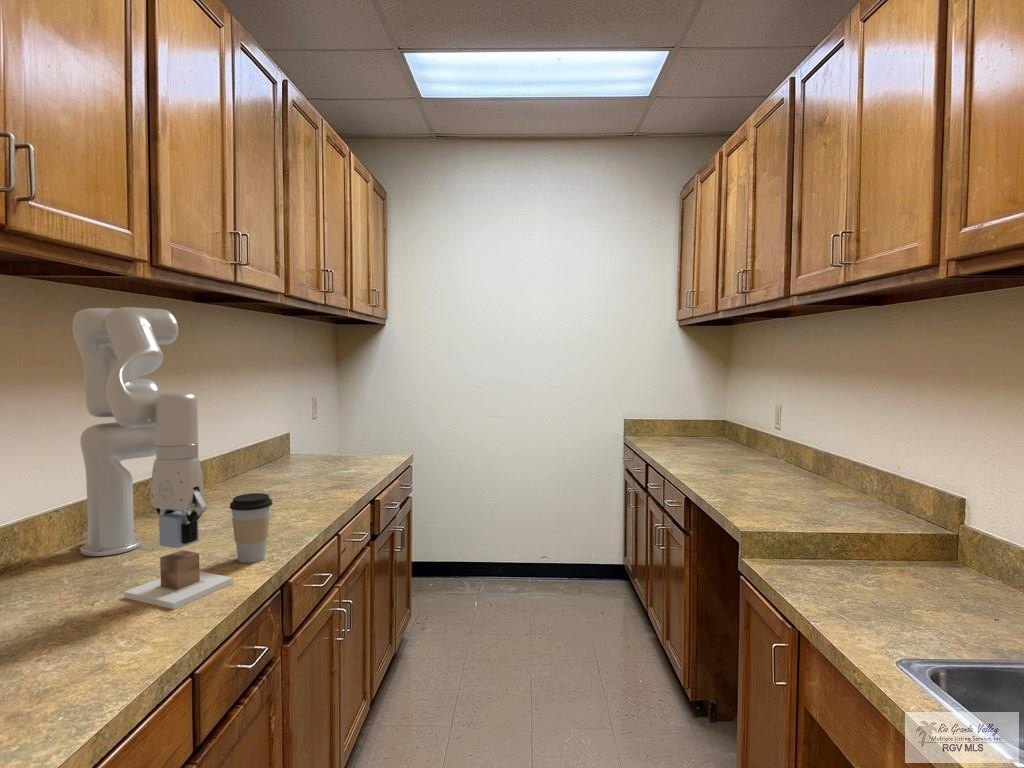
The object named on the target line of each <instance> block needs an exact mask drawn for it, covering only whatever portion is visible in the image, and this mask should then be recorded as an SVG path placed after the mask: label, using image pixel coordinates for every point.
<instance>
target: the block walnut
mask: <svg viewBox="0 0 1024 768" xmlns="http://www.w3.org/2000/svg"><path fill="white" fill-rule="evenodd" d="M159 559H160V561H159V564H160V567H159V568H160V569H159V570H160V578H161V586H162V587H166V588H171V589H175V590H180V589H182V588H185V587H187V586H190V585H192V584H194V583H197V582H199V581H200V571H201V570H200V553H198V552H193V551H189V550H183V549H181V550H179V551H176V552H172V553H169V554H166V555H163V556H160V558H159Z"/></svg>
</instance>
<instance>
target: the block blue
mask: <svg viewBox="0 0 1024 768" xmlns="http://www.w3.org/2000/svg"><path fill="white" fill-rule="evenodd" d="M191 513H192V512H191V511H188V515H190V514H191ZM182 524H184V522H183V517H182V513H181V511H176V512H173V513H169V514H165V515H162V516H159V515H158V529H159V530H158V531H159V535H158V536H159V546H162V547H166V548H167V547H168V548H173V549H179V548H182V547H185V546H188V545H191V544H194V543H197V542H200V540H199V535H200V534H199V531H200V530H199V521H197V540H195V541H192V542H189V543H186V544H183V543H182V529H181V525H182Z"/></svg>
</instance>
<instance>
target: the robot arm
mask: <svg viewBox="0 0 1024 768" xmlns="http://www.w3.org/2000/svg"><path fill="white" fill-rule="evenodd" d="M72 333H73V334H72V335H73V339H74V341H75V344H76V346H77V347H76V348H77V349H78V351H79V354H80V356H81V358H82V362H83V373H84V391H85V404H86V409H87V411H88V413H89V414H90V415H91V416H92V417H96V418H103V419H104V418H114V420H115V422H106V423H97V424H94V425H91V426H89V427H87V428H85V429H84V430H83V431H82V433H81V436H80V447H81V448H80V449H81V453H82V456H83V457H82V458H83V461H84V466H85V467H84V468H85V476H86V477H85V480H86V481H85V482H86V483H85V484H86V504H87V505H86V506H87V510H86V511H87V512H86V513H87V531H84V532H83V533H82V538H86V540H87V541H86V544H84V545H82V546H81V547H80V554H81V555H84V556H87V557H104V556H113V555H114V556H115V555H117V554H118V555H119V554H123V553H126V552H130V551H132V550H135V549H138V548H139V547H140V546H141V545H142V538H140V537H137V536H135V524H134V522H135V519H134V484H133V483H134V482H133V477H132V474H131V472H130V471H129V470H128V469H127V468H126V467H125V466H124V465H122V464H121V461H125V460H133V459H134V460H135V459H140V458H148V457H154V456H155V457H156V459H154V461H153V465H152V471H151V482H150V484H151V485H150V504H151V505H152V507H154V508H155V511H156V512H157V514H158V517H159V516H162V515H165V514H169V513H173V512H177V511H181V513H182V517H183V522H184V524H182V525H181V529H182V543H183V544H186V543H189V542H192V541H195V540H197V521H198V522H199V521H200V518H201V516H202V515H203V514H204V513H205V512H206V511H208V505H207V504H206V502H205V499H204V480H203V472H202V466H201V462H200V459H199V429H198V428H199V424H198V423H199V422H198V421H199V420H198V418H199V415H198V398H197V396H196V395H195V394H194V393H191V392H184V391H182V390H178V389H168V390H167V389H165V390H162V389H161V390H160V388H159V386H158V384H157V383H156V382H155V381H154V380H151V379H147V378H142V377H144V376H147V375H149V374H151V373H153V372H155V371H156V370H157V369H158V368H160V367H161V366H162V364H163V362H164V354H163V352H162V350H161V349H162V348H161V347H160V345H163V346H164V345H170V344H173V343H174V342H175V341H176V340H177V338H178V336H179V325H178V322H177V319H176V317H175V316H174V315H173V314H172V312H171V311H169V310H167V309H162V308H147V307H133V306H132V307H130V306H128V307H127V306H125V307H122V306H121V307H119V308H112V307H111V308H109V307H108V308H107V307H90V308H84V309H81V310H79V311H77V312H76V313H75V314H74V316H73V319H72ZM188 511H189V512H192V513H191V514H190V515H188Z"/></svg>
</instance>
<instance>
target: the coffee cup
mask: <svg viewBox="0 0 1024 768" xmlns="http://www.w3.org/2000/svg"><path fill="white" fill-rule="evenodd" d="M272 505H273V499H271V498H270V495H269V494H267V493H261V492H260V493H259V492H258V493H256V492H253V493H245V494H240V495H237V496H234V497H233V498H232V501H231V502H230V504H229V509H230V510H231V514H232V519H231V520H232V528H233V536H234V542H235V545H236V553H237V554H236V555H237V561H238V562H239V563H243V564H251V563H257V562H260V561H262V560H264V559H265V558H266V552H267V551H266V550H267V549H266V548H267V540H268V536H269V528H270V527H269V525H270V515H271V514H270V509H271V508H270V507H272Z"/></svg>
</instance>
